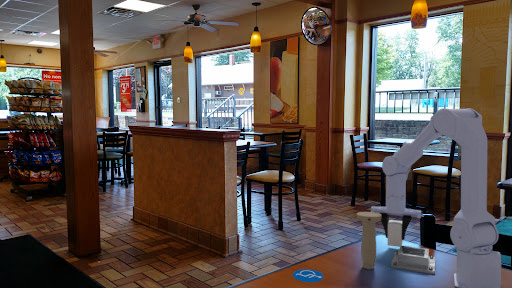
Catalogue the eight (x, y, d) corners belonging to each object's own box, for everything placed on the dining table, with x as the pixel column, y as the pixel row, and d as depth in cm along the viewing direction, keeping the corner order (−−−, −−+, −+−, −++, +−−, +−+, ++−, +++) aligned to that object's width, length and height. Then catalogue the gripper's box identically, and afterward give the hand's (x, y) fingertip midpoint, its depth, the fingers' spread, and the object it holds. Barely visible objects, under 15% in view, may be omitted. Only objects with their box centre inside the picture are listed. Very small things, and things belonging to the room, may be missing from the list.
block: (402, 243, 120) (402, 221, 120) (401, 247, 117) (401, 224, 116) (389, 241, 122) (389, 219, 121) (387, 245, 118) (387, 223, 118)
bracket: (435, 259, 111) (435, 247, 110) (434, 274, 101) (435, 261, 100) (394, 254, 115) (395, 242, 115) (390, 267, 105) (390, 255, 105)
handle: (381, 272, 102) (382, 217, 101) (356, 270, 104) (357, 215, 103) (380, 265, 107) (380, 212, 106) (356, 263, 109) (356, 211, 107)
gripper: (421, 194, 119) (421, 237, 120) (373, 190, 125) (373, 231, 126) (420, 198, 112) (420, 244, 113) (369, 195, 119) (369, 237, 120)
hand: (395, 238), depth 119 cm, fingers closed on block, 4 cm apart
